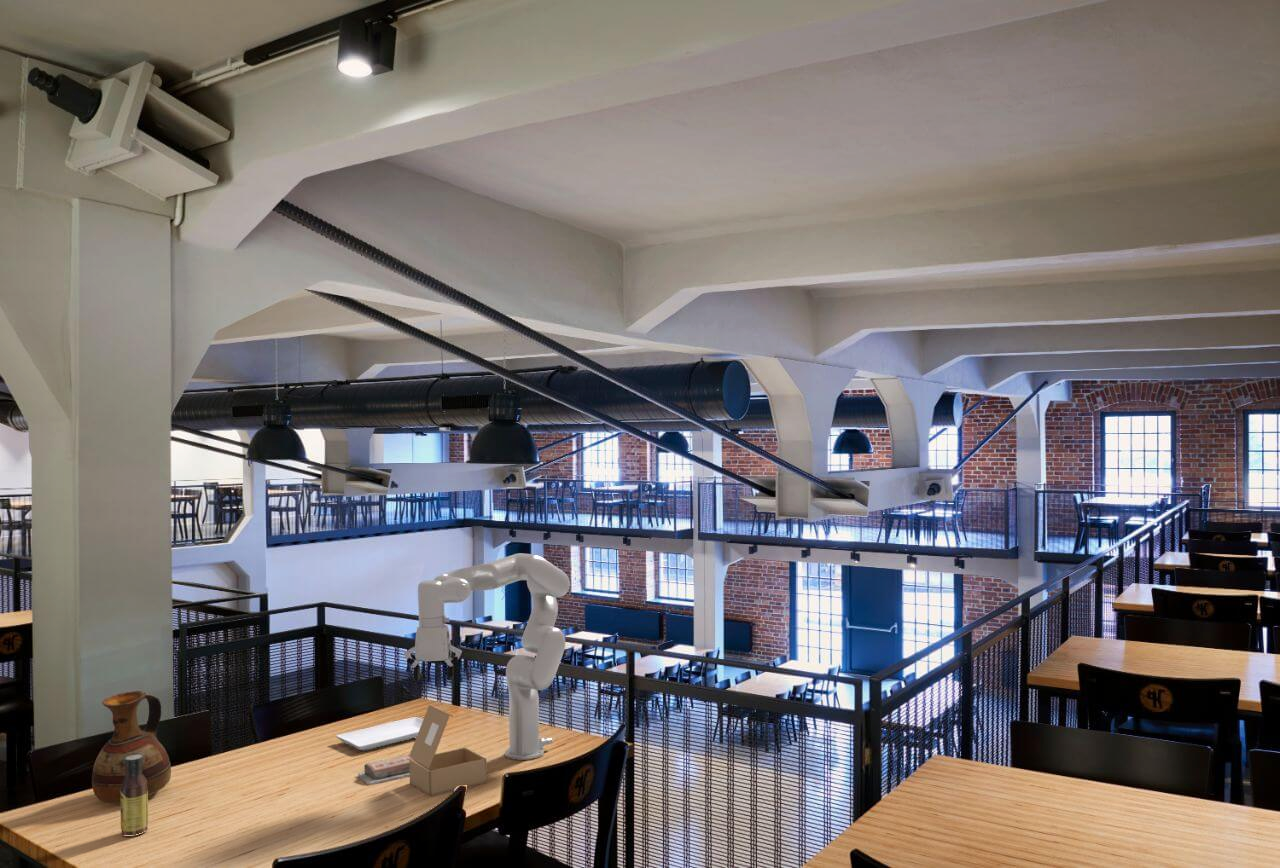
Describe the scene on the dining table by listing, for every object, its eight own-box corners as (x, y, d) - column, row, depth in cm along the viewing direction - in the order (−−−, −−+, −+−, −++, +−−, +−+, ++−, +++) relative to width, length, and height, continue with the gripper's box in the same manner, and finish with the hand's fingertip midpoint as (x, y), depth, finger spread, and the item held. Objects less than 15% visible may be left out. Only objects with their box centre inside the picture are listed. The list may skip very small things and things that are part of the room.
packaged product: (414, 750, 293) (426, 758, 285) (414, 765, 293) (426, 774, 285) (357, 761, 282) (368, 770, 274) (357, 777, 282) (368, 787, 274)
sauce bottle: (127, 829, 244) (127, 752, 244) (152, 828, 244) (152, 751, 245) (115, 839, 237) (115, 760, 238) (141, 838, 238) (141, 759, 238)
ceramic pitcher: (75, 804, 262) (75, 697, 263) (136, 781, 281) (136, 681, 282) (127, 812, 255) (127, 703, 256) (186, 788, 274) (186, 685, 275)
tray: (442, 735, 324) (442, 725, 325) (358, 756, 302) (358, 745, 303) (416, 725, 336) (416, 716, 337) (334, 745, 314) (334, 735, 315)
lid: (434, 706, 281) (429, 704, 280) (454, 715, 270) (448, 714, 269) (414, 757, 276) (408, 756, 275) (433, 769, 265) (427, 768, 264)
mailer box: (465, 770, 286) (465, 747, 286) (486, 782, 275) (486, 758, 275) (409, 783, 276) (409, 759, 276) (429, 796, 264) (429, 771, 264)
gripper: (463, 618, 282) (465, 675, 282) (406, 620, 283) (408, 676, 282) (457, 623, 274) (459, 682, 274) (399, 625, 275) (401, 683, 275)
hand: (433, 679), depth 278 cm, fingers open, 9 cm apart
